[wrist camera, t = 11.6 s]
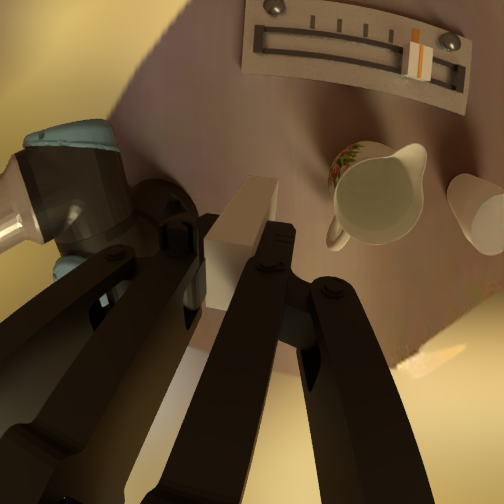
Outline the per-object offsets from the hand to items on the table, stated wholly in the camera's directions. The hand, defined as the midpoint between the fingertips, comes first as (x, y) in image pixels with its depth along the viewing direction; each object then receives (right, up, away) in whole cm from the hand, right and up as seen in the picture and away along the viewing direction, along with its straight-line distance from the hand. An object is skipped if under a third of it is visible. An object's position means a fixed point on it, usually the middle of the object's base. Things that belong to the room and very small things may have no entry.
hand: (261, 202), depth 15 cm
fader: (+20, +22, +16) cm, 34 cm away
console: (+15, +25, +18) cm, 34 cm away
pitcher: (+15, +9, +28) cm, 33 cm away
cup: (+33, +7, +25) cm, 42 cm away
